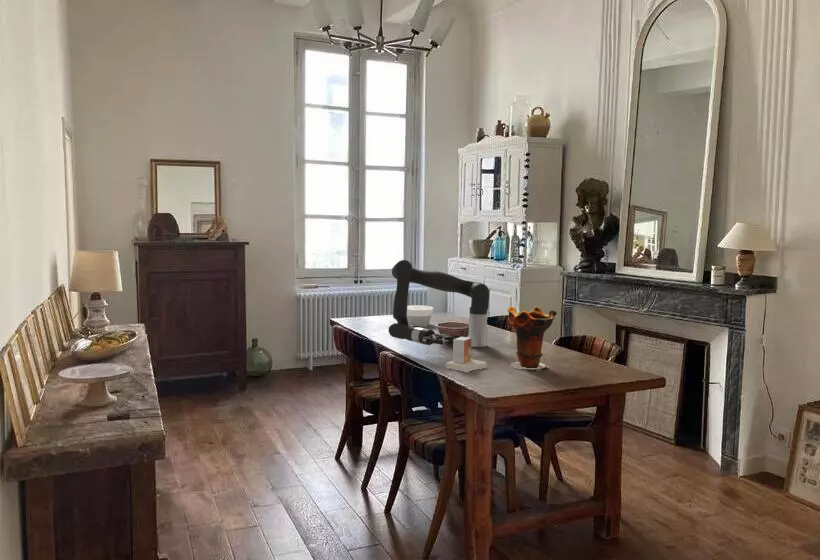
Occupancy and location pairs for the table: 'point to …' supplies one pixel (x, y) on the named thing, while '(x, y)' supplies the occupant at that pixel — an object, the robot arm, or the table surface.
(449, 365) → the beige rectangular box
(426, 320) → the bowl
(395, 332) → the robot arm
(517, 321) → the decorative vase
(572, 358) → the table surface
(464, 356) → the small box
